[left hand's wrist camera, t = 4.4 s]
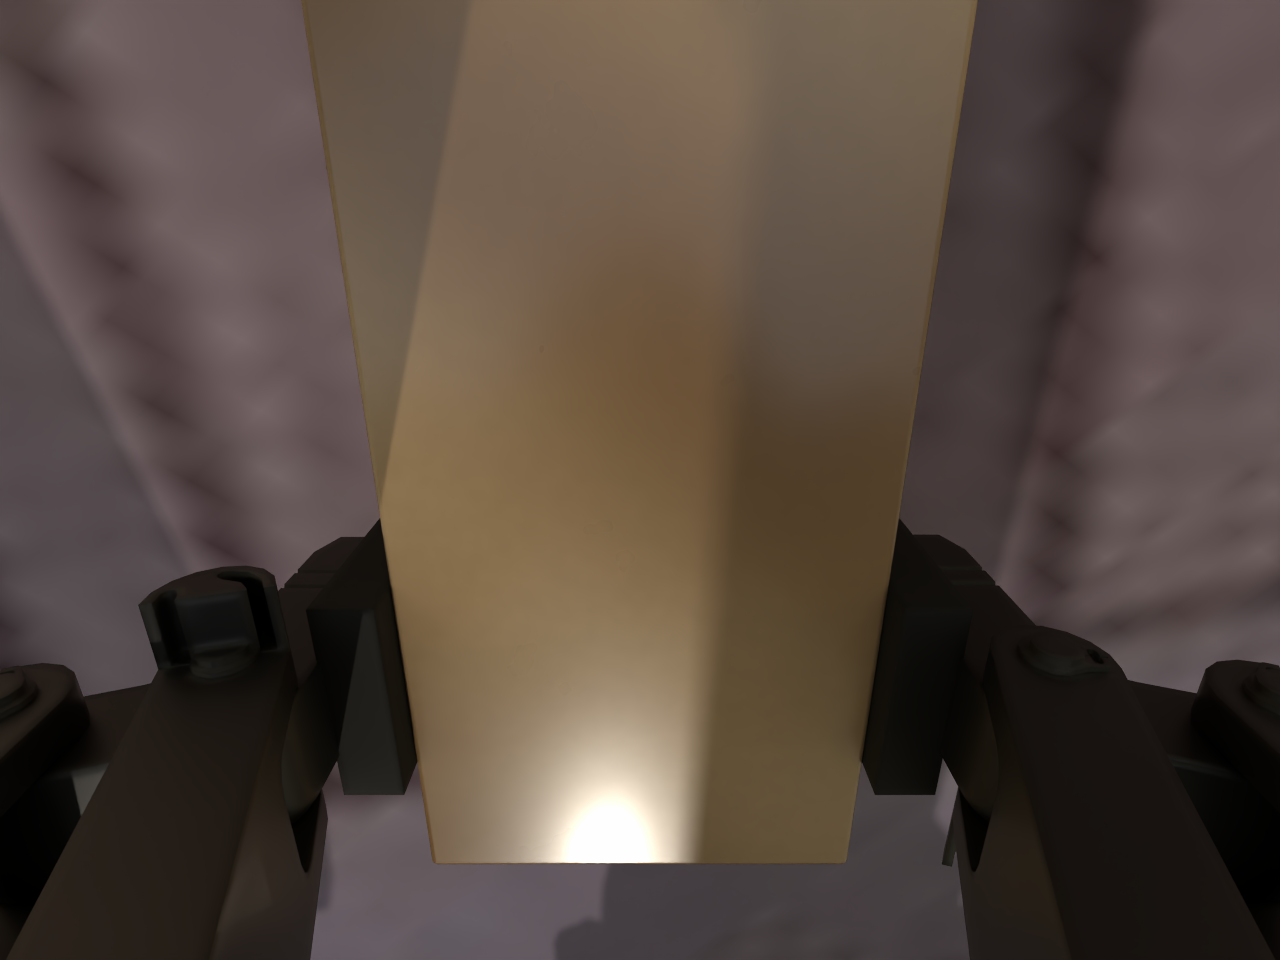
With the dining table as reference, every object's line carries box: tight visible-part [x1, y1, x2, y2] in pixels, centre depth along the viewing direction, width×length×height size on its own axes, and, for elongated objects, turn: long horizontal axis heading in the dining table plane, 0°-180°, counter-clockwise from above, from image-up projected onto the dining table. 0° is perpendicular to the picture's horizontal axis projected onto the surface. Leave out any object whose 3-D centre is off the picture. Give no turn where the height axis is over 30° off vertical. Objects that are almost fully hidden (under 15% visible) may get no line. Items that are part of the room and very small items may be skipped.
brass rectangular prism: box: [301, 0, 978, 864], centre depth 10 cm, size 19×6×9 cm, turn 0°
